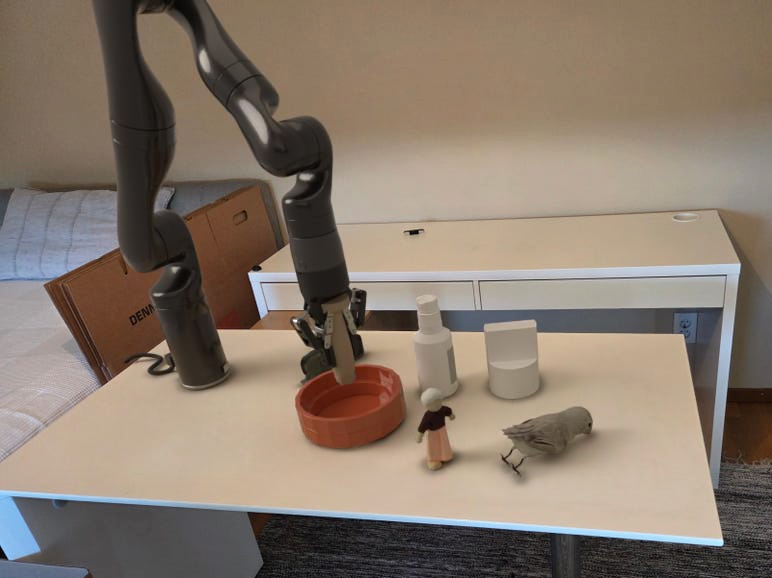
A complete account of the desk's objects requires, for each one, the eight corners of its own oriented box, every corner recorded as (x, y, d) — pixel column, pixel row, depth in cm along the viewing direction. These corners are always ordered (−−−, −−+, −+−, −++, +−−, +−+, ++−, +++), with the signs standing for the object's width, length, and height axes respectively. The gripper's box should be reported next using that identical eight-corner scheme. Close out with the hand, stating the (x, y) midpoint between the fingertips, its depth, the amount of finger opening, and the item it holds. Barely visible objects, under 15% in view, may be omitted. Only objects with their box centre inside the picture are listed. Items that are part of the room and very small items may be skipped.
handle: (356, 390, 102) (337, 305, 95) (322, 386, 104) (301, 303, 97) (370, 375, 106) (354, 292, 98) (337, 371, 108) (318, 290, 101)
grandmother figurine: (437, 477, 93) (426, 405, 87) (417, 470, 95) (404, 399, 89) (466, 448, 99) (457, 378, 93) (446, 442, 101) (436, 373, 95)
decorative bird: (602, 441, 97) (602, 400, 94) (516, 483, 91) (512, 441, 87) (579, 425, 101) (578, 385, 98) (495, 464, 95) (491, 423, 91)
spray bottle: (466, 386, 115) (455, 295, 106) (438, 403, 111) (425, 310, 102) (440, 375, 119) (427, 287, 110) (413, 391, 115) (398, 301, 106)
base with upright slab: (536, 370, 118) (533, 312, 112) (542, 396, 110) (539, 335, 104) (488, 375, 118) (483, 316, 112) (490, 401, 110) (484, 340, 104)
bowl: (282, 430, 108) (273, 400, 105) (359, 383, 120) (353, 355, 117) (350, 465, 98) (342, 433, 95) (427, 410, 109) (423, 380, 106)
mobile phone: (355, 330, 129) (290, 358, 120) (364, 334, 127) (298, 362, 118) (359, 352, 131) (295, 381, 122) (367, 356, 129) (304, 386, 120)
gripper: (339, 242, 102) (359, 337, 110) (264, 272, 92) (292, 373, 101) (371, 248, 97) (389, 347, 105) (295, 281, 88) (322, 386, 96)
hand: (341, 359), depth 103 cm, fingers closed on handle, 4 cm apart
